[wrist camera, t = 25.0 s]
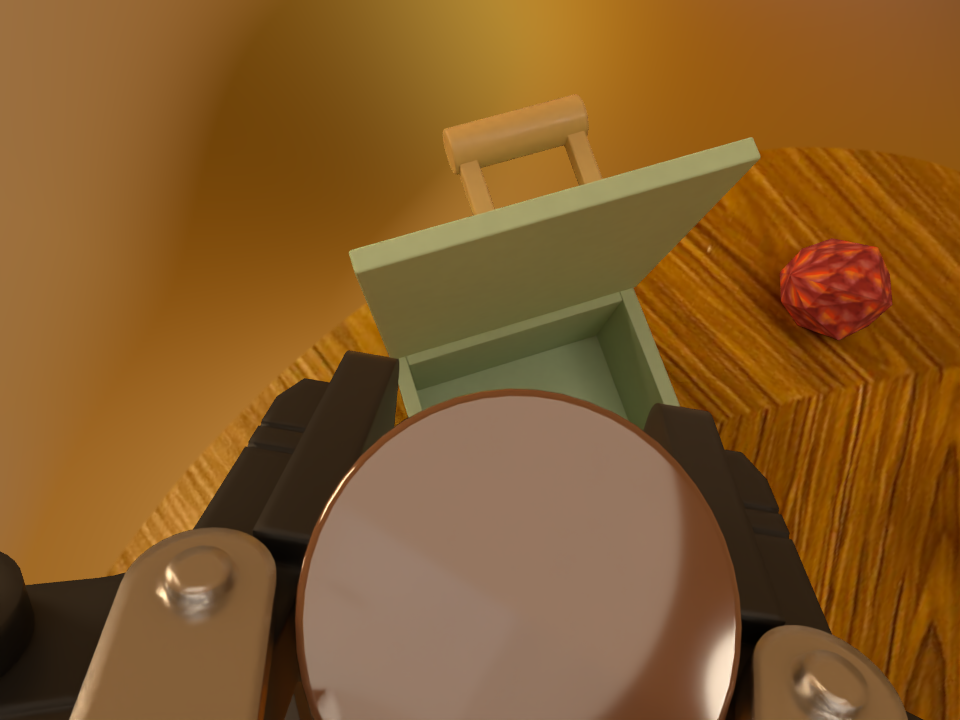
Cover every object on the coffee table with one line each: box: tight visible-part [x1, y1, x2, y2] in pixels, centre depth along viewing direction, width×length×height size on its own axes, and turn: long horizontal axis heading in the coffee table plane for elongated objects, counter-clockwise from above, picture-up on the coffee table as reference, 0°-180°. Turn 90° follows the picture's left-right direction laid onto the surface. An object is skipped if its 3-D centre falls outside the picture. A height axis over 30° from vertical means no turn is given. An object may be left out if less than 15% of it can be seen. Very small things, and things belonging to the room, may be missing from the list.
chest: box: [398, 288, 680, 430], centre depth 38 cm, size 14×14×8 cm
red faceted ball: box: [780, 239, 892, 340], centre depth 42 cm, size 6×7×8 cm
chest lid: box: [349, 94, 760, 359], centre depth 28 cm, size 14×14×5 cm
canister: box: [294, 388, 742, 720], centre depth 10 cm, size 4×4×10 cm
